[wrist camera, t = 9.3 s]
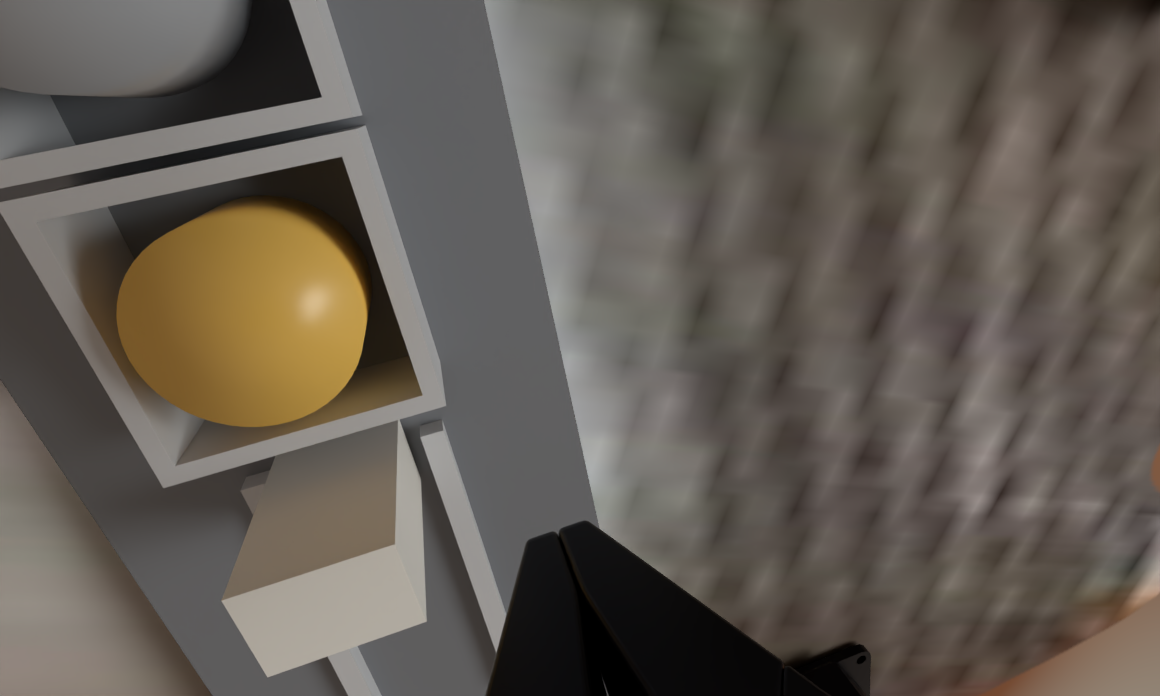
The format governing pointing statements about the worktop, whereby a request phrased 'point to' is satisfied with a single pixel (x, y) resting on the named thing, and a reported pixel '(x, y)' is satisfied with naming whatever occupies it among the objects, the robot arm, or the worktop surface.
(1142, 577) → the worktop surface
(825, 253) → the worktop surface
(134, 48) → the grey button
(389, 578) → the slider paddle
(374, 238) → the panel
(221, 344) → the amber button
